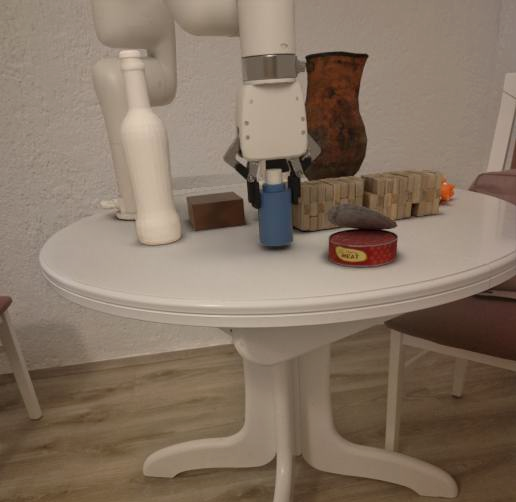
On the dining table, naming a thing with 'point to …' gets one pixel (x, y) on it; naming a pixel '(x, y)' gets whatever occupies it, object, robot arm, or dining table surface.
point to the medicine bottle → (274, 165)
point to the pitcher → (335, 113)
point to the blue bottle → (275, 210)
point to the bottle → (147, 158)
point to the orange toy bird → (446, 190)
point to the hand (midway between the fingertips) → (274, 204)
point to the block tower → (368, 196)
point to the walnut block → (215, 210)
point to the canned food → (361, 237)
